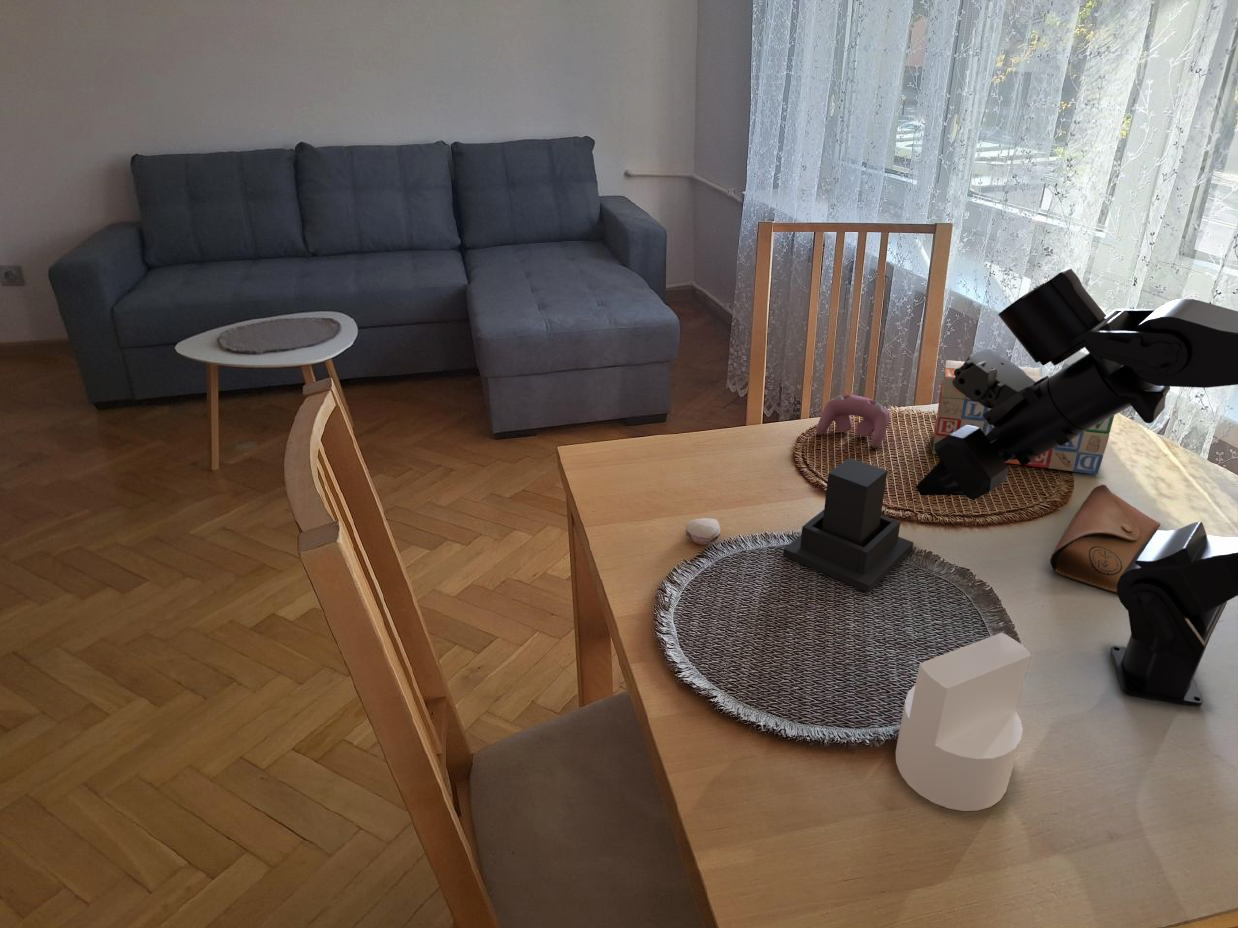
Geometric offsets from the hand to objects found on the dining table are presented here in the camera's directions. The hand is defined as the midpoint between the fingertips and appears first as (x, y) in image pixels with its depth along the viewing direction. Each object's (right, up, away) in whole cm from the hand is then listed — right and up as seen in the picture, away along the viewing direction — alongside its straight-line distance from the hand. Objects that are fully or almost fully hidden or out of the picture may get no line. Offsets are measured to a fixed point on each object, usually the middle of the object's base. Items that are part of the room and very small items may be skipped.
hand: (941, 476), depth 87 cm
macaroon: (-23, -8, +15) cm, 29 cm away
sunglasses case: (+23, -9, +11) cm, 27 cm away
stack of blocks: (+22, +2, +31) cm, 38 cm away
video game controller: (+1, +5, +37) cm, 38 cm away
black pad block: (-7, -8, +11) cm, 15 cm away
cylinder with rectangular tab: (-6, -25, -16) cm, 30 cm away
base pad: (-7, -9, +11) cm, 16 cm away
